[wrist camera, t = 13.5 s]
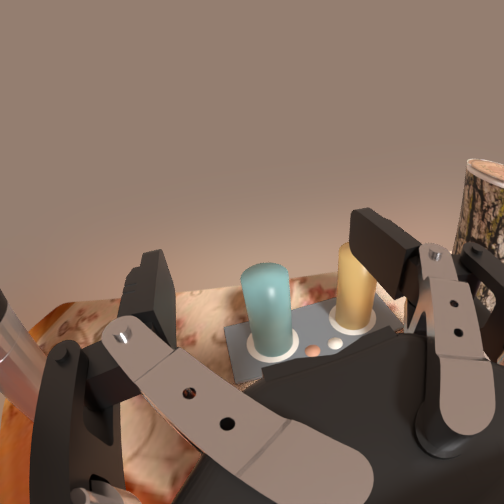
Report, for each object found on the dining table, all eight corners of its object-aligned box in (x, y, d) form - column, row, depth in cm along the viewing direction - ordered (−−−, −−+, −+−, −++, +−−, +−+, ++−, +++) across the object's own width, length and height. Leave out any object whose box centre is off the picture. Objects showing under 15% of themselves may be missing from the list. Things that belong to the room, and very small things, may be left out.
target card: (235, 384, 31) (235, 382, 31) (224, 329, 39) (223, 327, 39) (403, 327, 34) (404, 325, 33) (369, 287, 42) (369, 285, 42)
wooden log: (417, 405, 23) (508, 187, 10) (402, 361, 29) (451, 156, 16) (461, 388, 23) (551, 189, 10) (443, 349, 28) (500, 161, 16)
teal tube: (259, 361, 33) (245, 296, 27) (250, 333, 37) (236, 269, 32) (298, 350, 34) (295, 283, 28) (286, 324, 38) (280, 258, 32)
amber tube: (344, 335, 34) (352, 268, 29) (329, 310, 39) (331, 246, 33) (376, 323, 35) (389, 257, 29) (359, 301, 39) (366, 237, 34)
